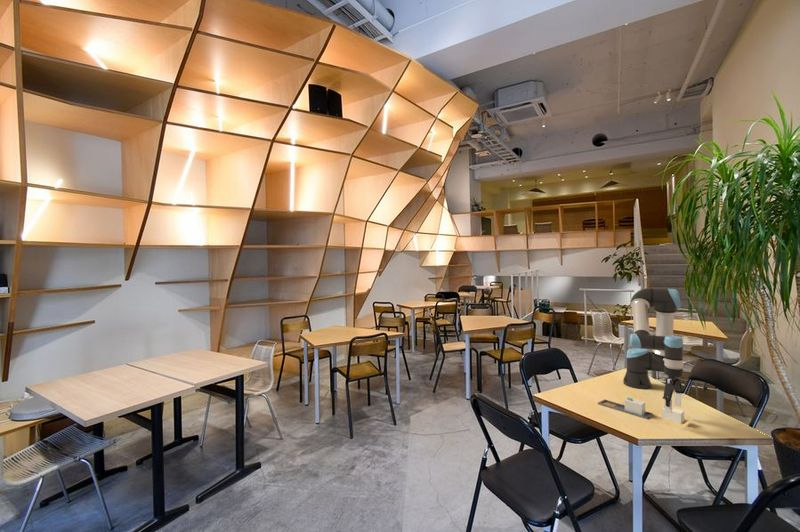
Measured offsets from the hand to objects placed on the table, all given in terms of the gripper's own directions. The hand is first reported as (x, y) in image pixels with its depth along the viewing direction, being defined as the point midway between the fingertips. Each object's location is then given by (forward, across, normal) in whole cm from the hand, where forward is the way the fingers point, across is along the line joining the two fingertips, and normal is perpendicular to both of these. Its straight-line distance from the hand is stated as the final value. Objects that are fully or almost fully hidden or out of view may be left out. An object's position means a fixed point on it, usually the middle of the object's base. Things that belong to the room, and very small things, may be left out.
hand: (673, 409), depth 185 cm
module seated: (+5, +6, -15) cm, 17 cm away
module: (+6, 0, 0) cm, 6 cm away
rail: (+6, +6, -20) cm, 22 cm away
